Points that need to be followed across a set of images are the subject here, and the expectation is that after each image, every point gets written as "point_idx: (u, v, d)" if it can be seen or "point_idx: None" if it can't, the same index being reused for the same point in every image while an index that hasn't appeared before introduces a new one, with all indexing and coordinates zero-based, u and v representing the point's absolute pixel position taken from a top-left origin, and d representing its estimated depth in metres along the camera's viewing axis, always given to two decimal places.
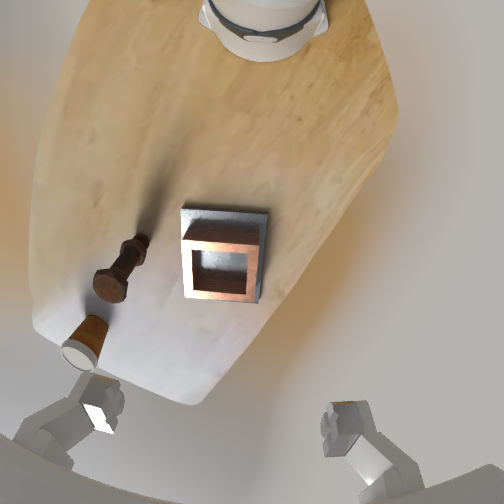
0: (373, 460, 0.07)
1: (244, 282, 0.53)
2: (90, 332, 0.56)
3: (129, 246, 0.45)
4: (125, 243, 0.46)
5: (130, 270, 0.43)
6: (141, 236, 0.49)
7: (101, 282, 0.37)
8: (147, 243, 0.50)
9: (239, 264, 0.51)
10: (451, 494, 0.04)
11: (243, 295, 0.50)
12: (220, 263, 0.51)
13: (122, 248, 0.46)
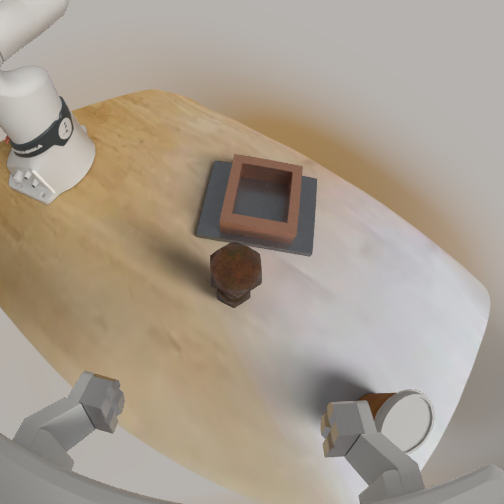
0: (373, 460, 0.07)
1: (288, 185, 0.48)
2: (369, 406, 0.34)
3: None
4: None
5: None
6: None
7: (222, 272, 0.29)
8: None
9: (266, 188, 0.48)
10: (451, 494, 0.04)
11: (293, 174, 0.45)
12: (265, 206, 0.47)
13: (222, 296, 0.38)
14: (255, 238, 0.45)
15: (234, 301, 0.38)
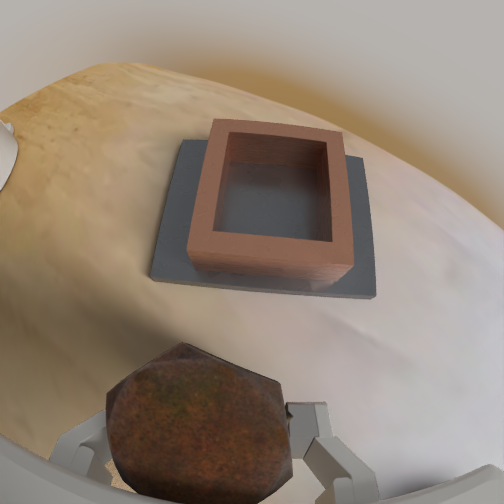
0: (328, 465, 0.07)
1: (317, 169, 0.26)
2: None
3: None
4: None
5: None
6: None
7: (148, 460, 0.06)
8: None
9: (279, 178, 0.26)
10: (451, 494, 0.04)
11: (328, 145, 0.22)
12: (279, 211, 0.25)
13: None
14: (266, 277, 0.22)
15: None
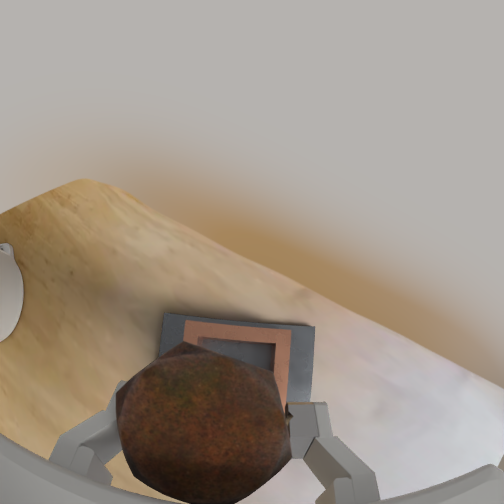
0: (328, 465, 0.07)
1: (272, 347, 0.32)
2: None
3: None
4: None
5: None
6: None
7: (158, 452, 0.07)
8: None
9: (241, 355, 0.32)
10: (451, 494, 0.04)
11: (277, 347, 0.29)
12: None
13: None
14: None
15: None
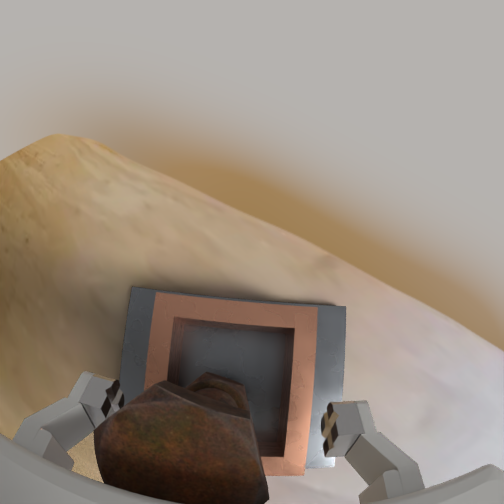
0: (373, 460, 0.07)
1: (286, 337, 0.22)
2: None
3: None
4: None
5: None
6: None
7: (137, 488, 0.06)
8: None
9: (240, 348, 0.22)
10: (451, 494, 0.04)
11: (296, 334, 0.19)
12: None
13: None
14: None
15: None
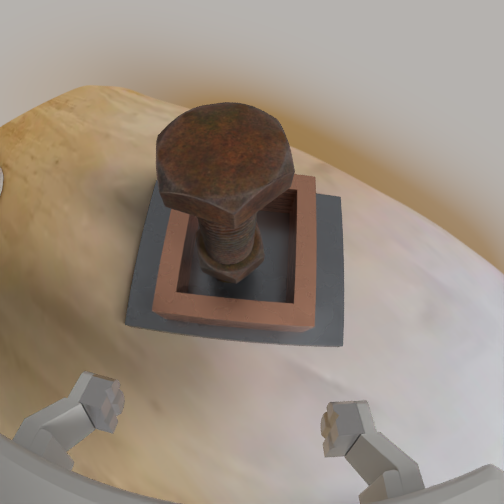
0: (373, 460, 0.07)
1: (290, 214, 0.26)
2: None
3: (202, 241, 0.19)
4: (198, 254, 0.19)
5: None
6: None
7: (187, 159, 0.10)
8: None
9: None
10: (451, 494, 0.04)
11: (298, 194, 0.23)
12: None
13: (208, 262, 0.19)
14: (233, 328, 0.23)
15: (234, 268, 0.19)
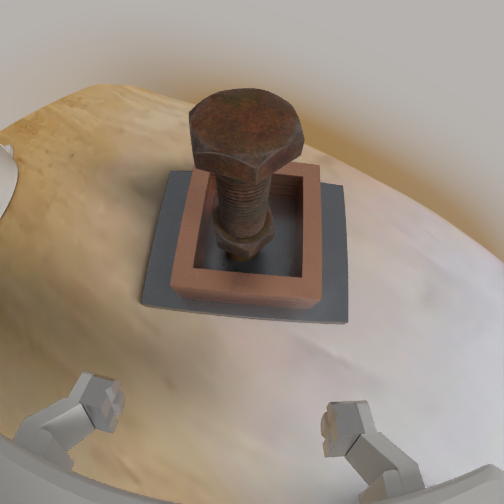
0: (373, 460, 0.07)
1: (296, 200, 0.28)
2: None
3: (218, 218, 0.21)
4: None
5: None
6: None
7: (216, 128, 0.12)
8: None
9: None
10: (451, 494, 0.04)
11: (304, 180, 0.24)
12: None
13: (224, 236, 0.21)
14: (244, 305, 0.24)
15: (248, 241, 0.21)
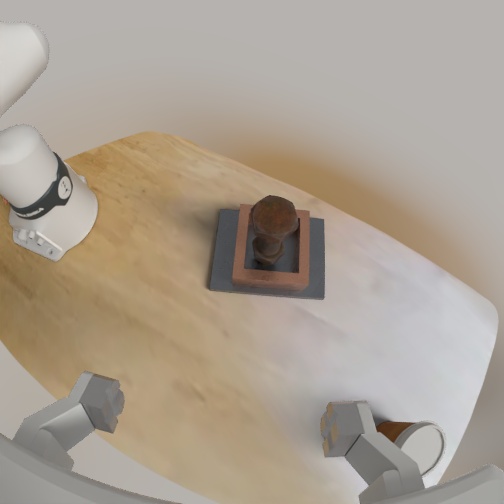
0: (373, 460, 0.07)
1: (296, 229, 0.49)
2: (385, 436, 0.33)
3: (256, 245, 0.42)
4: (254, 251, 0.42)
5: None
6: None
7: (264, 221, 0.33)
8: None
9: None
10: (451, 494, 0.04)
11: (300, 220, 0.46)
12: None
13: (259, 254, 0.42)
14: (268, 288, 0.46)
15: (271, 257, 0.42)
